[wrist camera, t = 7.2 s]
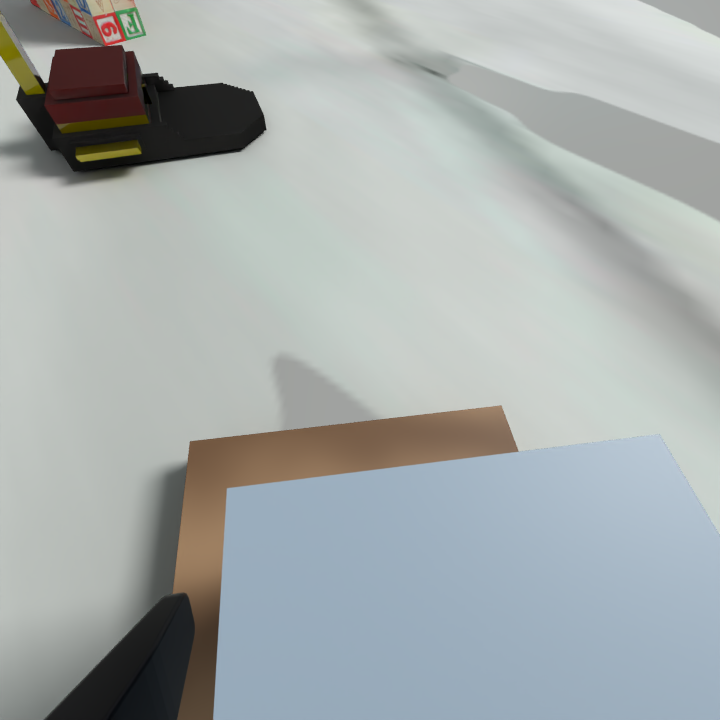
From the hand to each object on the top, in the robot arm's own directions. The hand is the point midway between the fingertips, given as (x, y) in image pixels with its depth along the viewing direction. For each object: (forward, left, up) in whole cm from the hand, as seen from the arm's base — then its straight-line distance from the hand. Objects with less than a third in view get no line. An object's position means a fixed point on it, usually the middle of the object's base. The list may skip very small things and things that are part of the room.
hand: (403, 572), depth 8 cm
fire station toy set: (+32, +29, -11) cm, 45 cm away
